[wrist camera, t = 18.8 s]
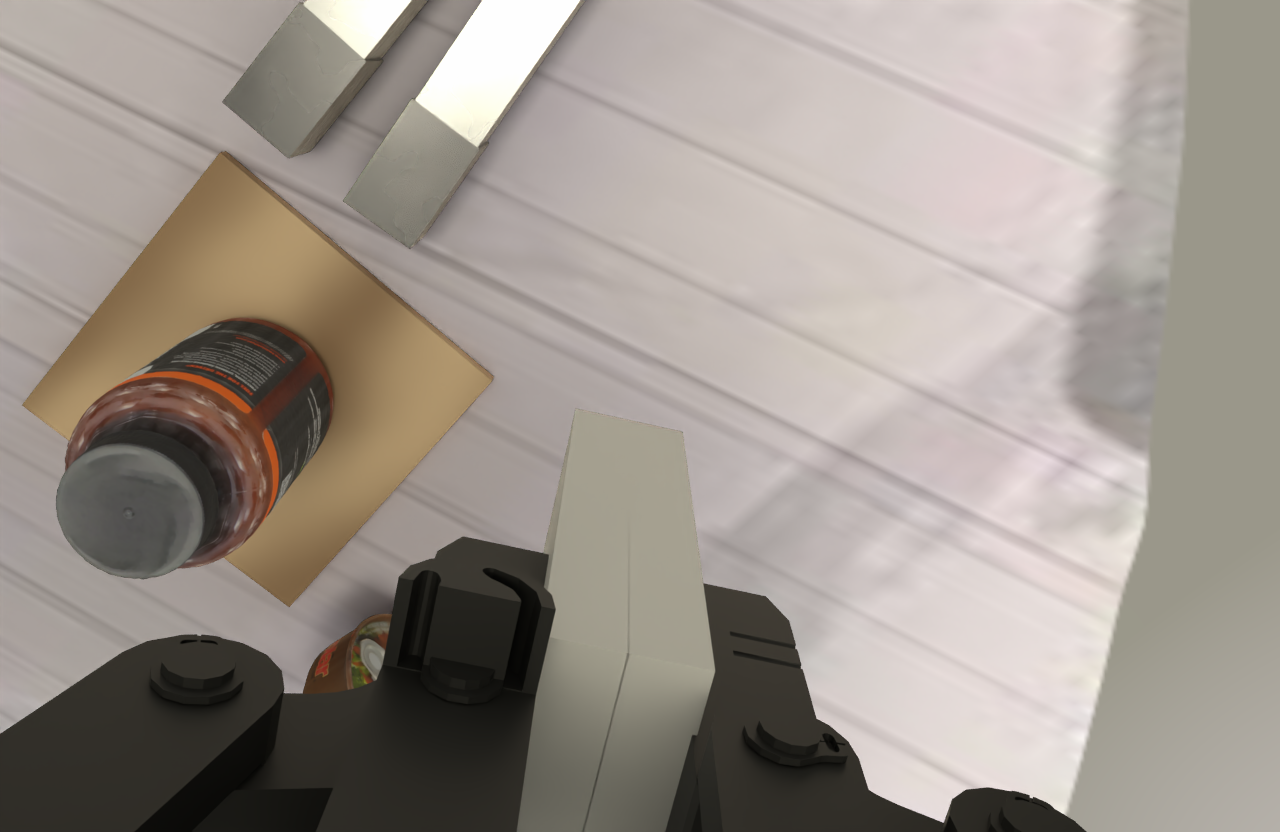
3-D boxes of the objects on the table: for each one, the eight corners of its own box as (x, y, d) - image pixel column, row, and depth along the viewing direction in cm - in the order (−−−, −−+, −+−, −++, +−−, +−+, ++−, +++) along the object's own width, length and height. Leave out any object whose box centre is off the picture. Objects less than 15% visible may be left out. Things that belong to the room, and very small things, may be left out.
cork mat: (29, 400, 43) (21, 405, 43) (225, 151, 41) (220, 152, 40) (293, 600, 46) (289, 607, 45) (493, 376, 43) (491, 381, 43)
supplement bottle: (156, 320, 42) (-9, 414, 31) (323, 306, 42) (216, 396, 31) (188, 479, 44) (43, 620, 33) (349, 465, 43) (257, 603, 33)
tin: (613, 846, 49) (609, 1002, 41) (551, 882, 50) (536, 1043, 42) (388, 573, 45) (336, 686, 37) (324, 616, 46) (259, 735, 38)
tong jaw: (659, -250, 37) (663, -288, 33) (724, -194, 37) (736, -225, 33) (361, 191, 41) (330, 207, 37) (423, 237, 41) (401, 257, 37)
